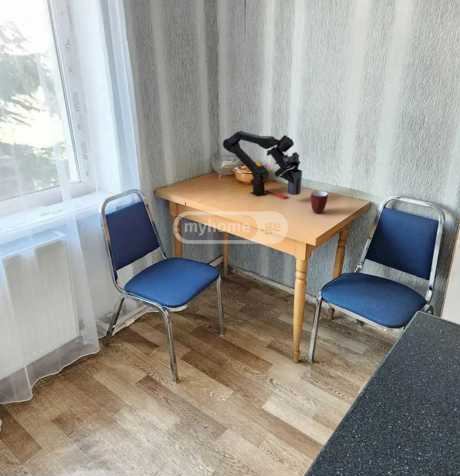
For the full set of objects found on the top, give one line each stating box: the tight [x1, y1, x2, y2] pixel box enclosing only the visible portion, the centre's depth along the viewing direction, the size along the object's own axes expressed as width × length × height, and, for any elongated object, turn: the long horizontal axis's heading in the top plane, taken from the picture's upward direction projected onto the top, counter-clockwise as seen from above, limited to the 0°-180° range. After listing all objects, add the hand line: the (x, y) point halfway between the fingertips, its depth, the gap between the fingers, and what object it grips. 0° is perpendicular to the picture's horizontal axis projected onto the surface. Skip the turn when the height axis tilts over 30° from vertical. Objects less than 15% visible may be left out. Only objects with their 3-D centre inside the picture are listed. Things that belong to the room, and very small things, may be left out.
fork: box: [265, 188, 289, 200], centre depth 222 cm, size 16×3×1 cm, turn 36°
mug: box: [310, 190, 329, 215], centre depth 195 cm, size 11×8×10 cm
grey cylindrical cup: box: [287, 168, 303, 196], centre depth 207 cm, size 7×7×12 cm
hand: (297, 181), depth 206 cm, fingers closed on grey cylindrical cup, 7 cm apart
